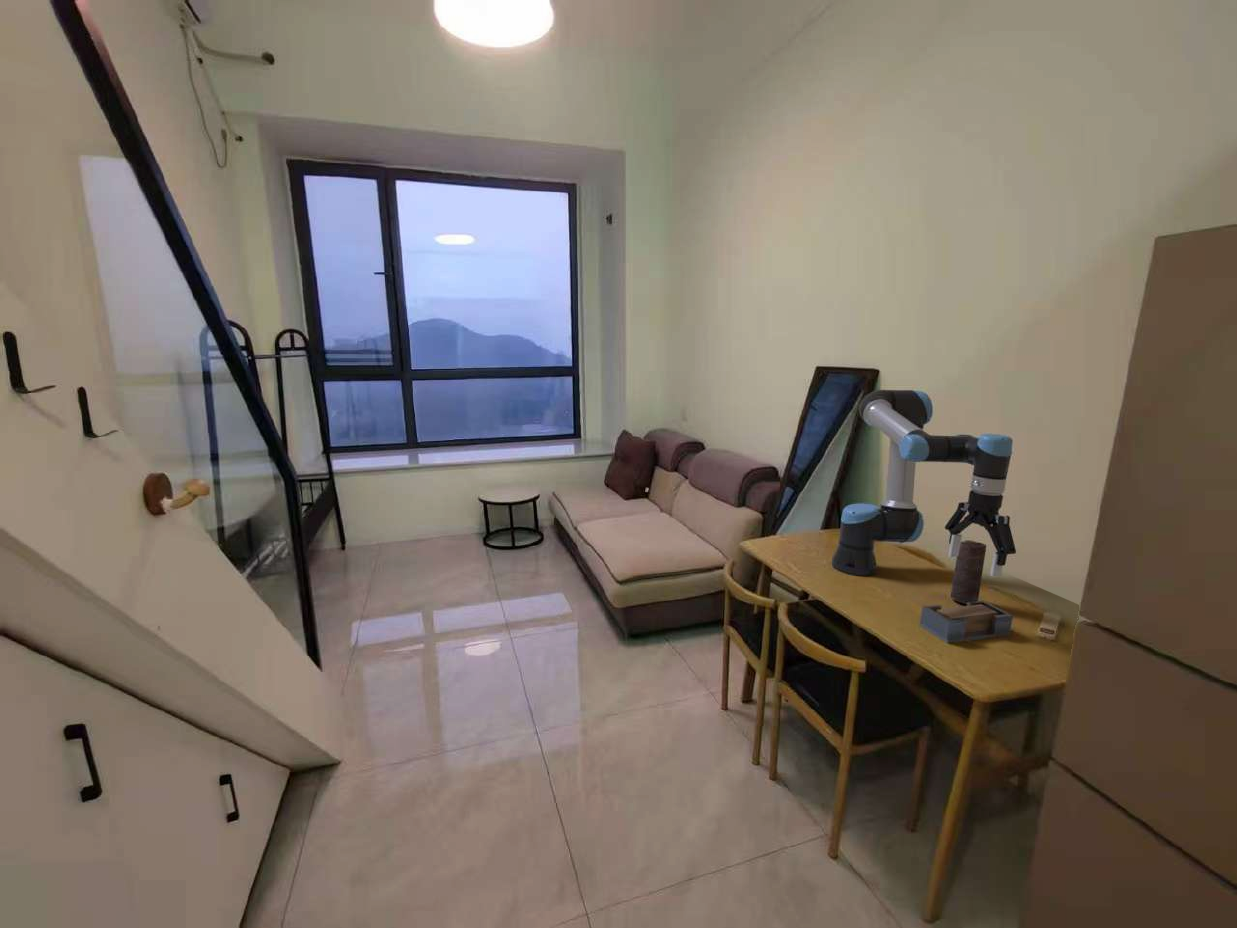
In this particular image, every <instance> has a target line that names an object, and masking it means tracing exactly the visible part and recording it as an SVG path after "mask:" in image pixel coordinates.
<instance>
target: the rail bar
mask: <svg viewBox="0 0 1237 928" xmlns="http://www.w3.org/2000/svg"><path fill="white" fill-rule="evenodd" d="M936 612H937V613H938V614H940V615H942V616H943V617H945V618H947V619H948V620H958V619H965V620H967V622H966V628H965V633H967V632H974V631H981V630H988V629H991V627H992V622H993V616H995V615H997V612H996V611H994V610H992V609H990V608H988V607H986V606H984V605H982V604H979V605H971V606H967V605H965V606H958V607H957V606H956V607H950V608H943V609H942V608H941V610H937V611H936Z"/></svg>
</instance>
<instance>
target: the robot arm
mask: <svg viewBox="0 0 1237 928" xmlns="http://www.w3.org/2000/svg"><path fill="white" fill-rule="evenodd" d="M858 406H859V408H858V413H859V416H860V418H861V420H863V422H864V423H865V424H867V425H868V426H870V427H874V428H875V427H876V428H877V429H878V430H880V432H881V433H883V434H884V436H887V437H888V438H889V451H888V464H887V476H886V492H885V499H883V501H882V502H880V507H878V506H877V505H875V504H871V503H861V502H860V503H852V504H848V505H847V506H845V507H844V508H843V510H842V514H841V518H840V530H839V539H838V545H837V547H836V549H835V552H834V553H833V556H832V558H831V562H830V564H831V566H832V567H833V568H834V569H835V570H837V571H839V572H842V573H844V574H845V573H846V574H847V575H848V574H849V575H853V576H872V575H874V574H876V573H877V570H878V569H877V568H878V565H877V560H876V555H875V551H874V550H875V548H874V547H875V543H877V542H880V543H900V544H904V543H913V542H915V541H917V540H918V539H919V538H920V536H921V535H922V533H923V530H924V522H925V521H924V519H923V518H924V516H923V514H922V513H921V511H919V510H918V506H917V504H915V502H914V492H915V491H914V490H915V489H914V488H915V477H916V476H915V475H916V463H920V462H922V463H923V462H924V463H925V462H926V463H930V462H931V463H933V462H934V463H962V464H967V465H968V464H969V465H972V466H973V469H972V470H973V472H972V477H971V483H970V488H971V490H969V494H968V499H967V502H966V501H965V502H963V501H962V502H961V501H960V502H959V503H958V504H957V505H958V506H957V509H956V510H955V512H954V513H953V514H952V515H951V518H949V520H948V521H947V523H946V524H945V526H944V529H945V530H947V531H948V532H949V533H950V534H949V541H948V542H949V551H948V557H949V558H954V557H957V556H958V555H959V550H960V544H961V542H962V538H963V535H962V532H963V531H964V530H965V529H966V528H968V527H970V526H971V525H972V524H974V525H979V526H980V527H983V528H984V529H985V530H986V531H987V532H988V535H989V537H990V539H991V541H992V543H993V545H994V546H993V547H995V549H996V552H995V551H994V552H993V555H992V556H993V557H992V563H991V567H990V573H989V576H990V577H991V578H992V577H993V578H994V577H1001V576H1002V570H1003V566H1006V562H1007V556H1008V555H1015V554H1017V550H1016V546H1015V541H1014V539H1013V535H1012V530H1011V525H1010V520H1011V518H1010V516H1009V515H1000V513H999V510H1000V509H1001V507H1002V505H1003V500H1004V499H1003V498H1004V496H1003V494H1004V493H1005V490H1006V484H1007V476H1008V472H1009V469H1010V467H1009V466H1010V462H1011V457H1012V454H1013V438H1012V437H1010V436H1009V435H1005V434H1004V435H1003V434H998V433H997V434H995V433H983V434H980V435H979V438H978V437H975V436H972V435H970V434H962V433H960V434H955V435H935V434H934V435H932V434H931V435H930V434H929V433H927V432H926V431H925V430H924V427H925V425H927V424H928V423H929V422H930V421H931V418H932V417H933V414H934V413H933V411H934V409H933V408H934V407H933V403H932V400H931V398H930V397H929V395H928V394H927V393H926V392H925V391H922V390H921V391H920V390H913V389H909V390H908V389H906V390H904V389H903V390H902V389H900V390H899V389H898V390H897V389H879V390H877V389H876V390H874V391H871V392H870V393H868V394H866V395H865V396H864V397H863V398H862V399H861V401H860V403H859V405H858ZM967 512H968V514H967V515H966V513H967ZM965 515H966V516H965Z"/></svg>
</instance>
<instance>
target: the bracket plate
mask: <svg viewBox="0 0 1237 928" xmlns="http://www.w3.org/2000/svg"><path fill="white" fill-rule="evenodd" d="M979 604H982V605H984V606H986V607H988V608H990V609H992V610H994V611H996V612H997V615H995V616H993V622H992V627H991V629H988V630H981V631H974V632H967V633H965V628H966V622H967V620H965V619H958V620H948V619H947V618H945V617H943V616H942V615H940V614H938V613H937V612H936V611H937V610H941V609H942V605H940V604H932V605H923V606H922V608H921V614H920V615H921V616H920V621H919V623H918V625H919V627H921V628H923V629H925V630H926V631H928V632H929V633H931V634H933V635H934V636H935V637H936V638H939V639H940V640H941V641H943V642H944V643H946V644H950V643H951V644H952V643H960V642H970V641H978V640H986V639H987V640H988V639H993V638H996V639H997V638H1003V637H1010V636H1011V634H1012V633H1011V628H1012V623H1013V617H1014V616H1013V615H1012V614H1011V613H1009V612H1007V611H1005V610H1003V609H1001V608H999V607H997V606H995V605H993V604H991V603H989V602H987V601H985V600H984V599H983V600H978V601H971V602H967V604H966V606H971V605H979Z"/></svg>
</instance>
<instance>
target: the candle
mask: <svg viewBox="0 0 1237 928" xmlns="http://www.w3.org/2000/svg"><path fill="white" fill-rule="evenodd" d="M986 553H987V544H985V543H982V542H979V541H978V542H977V541H974V540H969V539H968V540H966V539H965V540H963V541H961V544H960V550H959V555H958V556H956V559H955V566H954V573H953V576H952V577H953V579H952V586H951V591H950V598H951V599H953V600H954V601H956V602H958V603H961V604H965V605H967V602H971V601H979V597H980V593H981V592H980V590H981V583H982V577H983V571H984V564H985V557H986Z"/></svg>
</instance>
